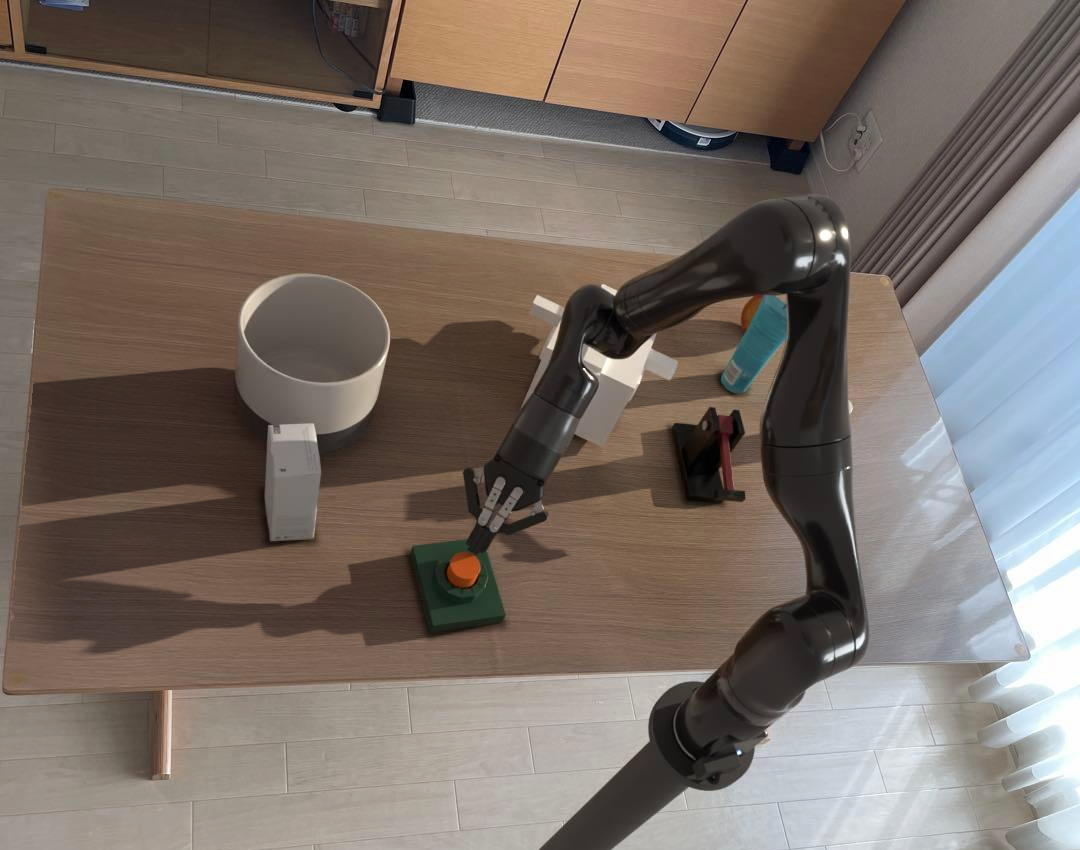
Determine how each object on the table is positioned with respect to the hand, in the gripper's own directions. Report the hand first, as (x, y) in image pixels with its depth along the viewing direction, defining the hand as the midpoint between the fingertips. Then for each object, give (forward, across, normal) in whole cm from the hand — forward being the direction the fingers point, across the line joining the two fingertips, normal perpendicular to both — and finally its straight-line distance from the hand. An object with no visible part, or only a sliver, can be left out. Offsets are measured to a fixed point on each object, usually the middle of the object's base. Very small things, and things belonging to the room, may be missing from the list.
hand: (473, 552), depth 130 cm
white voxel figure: (-27, -1, +37) cm, 45 cm away
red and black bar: (-26, +24, +25) cm, 43 cm away
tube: (-38, +20, +48) cm, 65 cm away
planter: (-2, -32, +12) cm, 34 cm away
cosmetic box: (+9, -24, +1) cm, 26 cm away
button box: (+6, 0, +4) cm, 7 cm away
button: (+4, 0, +1) cm, 4 cm away
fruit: (-48, +20, +58) cm, 78 cm away
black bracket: (-23, +21, +33) cm, 46 cm away
